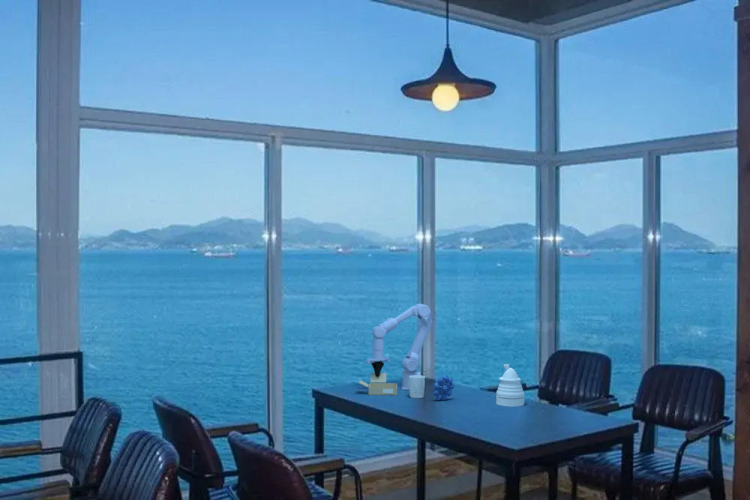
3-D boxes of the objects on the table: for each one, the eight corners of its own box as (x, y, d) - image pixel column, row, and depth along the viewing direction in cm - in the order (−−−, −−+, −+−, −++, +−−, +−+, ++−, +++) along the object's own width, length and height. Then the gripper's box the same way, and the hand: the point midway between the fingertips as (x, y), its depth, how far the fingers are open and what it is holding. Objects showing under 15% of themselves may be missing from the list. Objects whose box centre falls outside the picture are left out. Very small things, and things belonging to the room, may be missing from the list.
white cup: (425, 395, 377) (425, 375, 377) (424, 398, 369) (424, 377, 369) (409, 395, 377) (409, 375, 377) (408, 398, 370) (408, 377, 370)
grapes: (449, 397, 372) (449, 373, 372) (456, 400, 365) (456, 375, 366) (428, 399, 366) (428, 374, 366) (435, 402, 360) (436, 376, 360)
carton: (396, 390, 391) (396, 383, 391) (397, 395, 377) (397, 388, 377) (369, 389, 392) (369, 383, 392) (368, 395, 377) (368, 387, 378)
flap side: (386, 382, 392) (386, 373, 394) (386, 382, 391) (386, 373, 394) (370, 382, 392) (370, 373, 394) (370, 382, 392) (370, 372, 394)
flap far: (368, 384, 386) (359, 379, 386) (368, 387, 378) (359, 382, 378) (368, 384, 386) (359, 380, 386) (367, 387, 378) (358, 382, 378)
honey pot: (492, 404, 355) (492, 365, 356) (501, 400, 367) (501, 362, 367) (519, 407, 349) (519, 367, 350) (527, 402, 361) (528, 364, 361)
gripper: (372, 351, 385) (371, 378, 385) (393, 349, 395) (393, 376, 394) (363, 350, 390) (362, 376, 390) (384, 348, 400) (384, 374, 400)
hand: (377, 376), depth 393 cm, fingers closed, pressing on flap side
